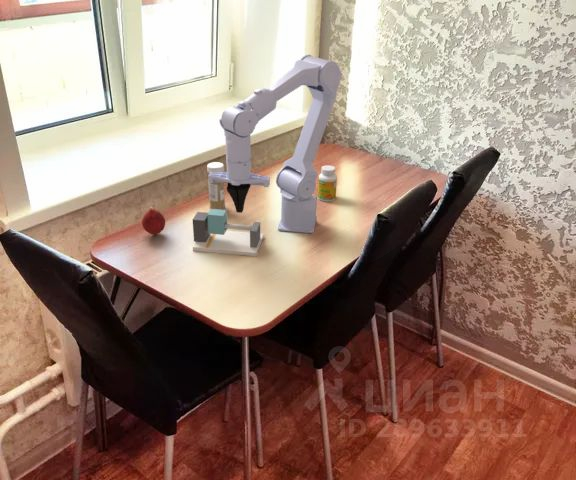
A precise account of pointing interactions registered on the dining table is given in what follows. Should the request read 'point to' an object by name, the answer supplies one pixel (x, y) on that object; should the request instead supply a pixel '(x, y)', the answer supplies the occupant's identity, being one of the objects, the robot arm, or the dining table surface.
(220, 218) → the sleeve
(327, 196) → the supplement bottle
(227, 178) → the robot arm
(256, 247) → the sliding block rail
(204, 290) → the dining table surface
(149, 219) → the onion
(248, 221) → the dining table surface
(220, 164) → the sprinkles bottle
